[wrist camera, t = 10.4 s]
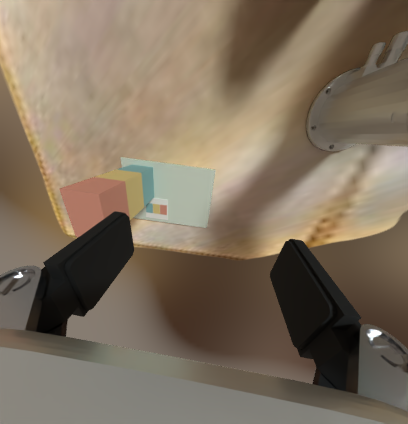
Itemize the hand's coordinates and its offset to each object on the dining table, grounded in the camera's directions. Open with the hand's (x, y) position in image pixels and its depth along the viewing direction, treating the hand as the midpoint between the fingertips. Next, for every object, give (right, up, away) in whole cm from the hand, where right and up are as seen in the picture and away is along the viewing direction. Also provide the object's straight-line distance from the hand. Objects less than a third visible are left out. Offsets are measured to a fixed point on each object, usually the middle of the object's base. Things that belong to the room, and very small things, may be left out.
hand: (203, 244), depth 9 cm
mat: (-9, +6, +29) cm, 31 cm away
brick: (-16, +4, +16) cm, 23 cm away
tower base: (-15, +10, +27) cm, 32 cm away
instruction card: (-13, +3, +30) cm, 33 cm away
